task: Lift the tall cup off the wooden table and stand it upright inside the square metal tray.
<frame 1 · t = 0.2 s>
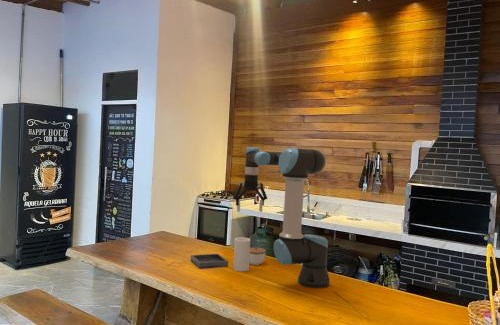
hand: (249, 211, 244), 28 cm above the table, tool pointing down, fingers open, 13 cm apart
square metal tray: (209, 263, 232), on the table
lidded jar: (255, 263, 237), on the table
cup: (241, 269, 225), on the table
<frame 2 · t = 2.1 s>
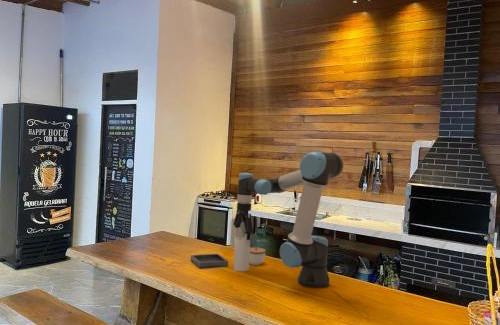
hand: (241, 242, 225), 14 cm above the table, tool pointing down, fingers open, 13 cm apart
nothing on the table moved.
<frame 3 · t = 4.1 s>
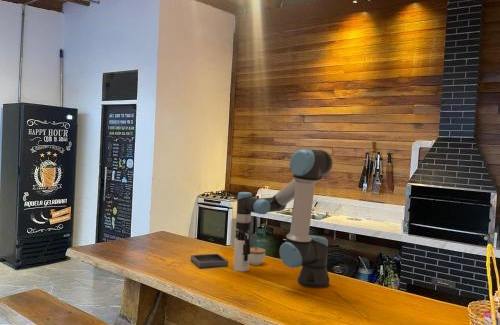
hand: (241, 264, 225), 3 cm above the table, tool pointing down, fingers closed on cup, 8 cm apart
cup: (241, 269, 225), on the table, touching gripper
everything else where it was.
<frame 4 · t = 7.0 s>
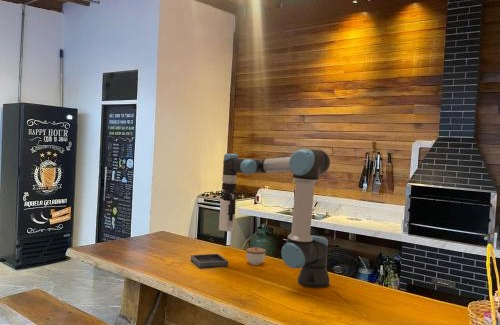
hand: (226, 224, 228), 22 cm above the table, tool pointing down, fingers closed on cup, 8 cm apart
cup: (226, 229, 228), point 20 cm above the table, touching gripper
everything else where it was.
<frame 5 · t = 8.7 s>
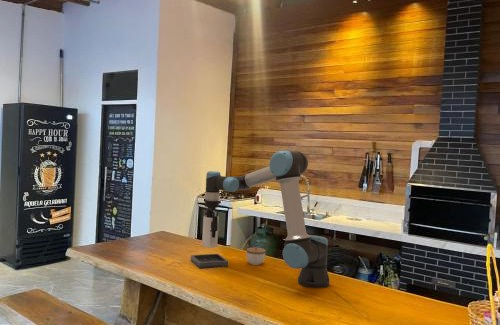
hand: (209, 241, 232), 12 cm above the table, tool pointing down, fingers closed on cup, 8 cm apart
cup: (209, 246, 232), point 10 cm above the table, touching gripper
everything else where it was.
when the fingers open (5 cm above the table, at t = 10.3 s): cup drops 1 cm, resting on square metal tray.
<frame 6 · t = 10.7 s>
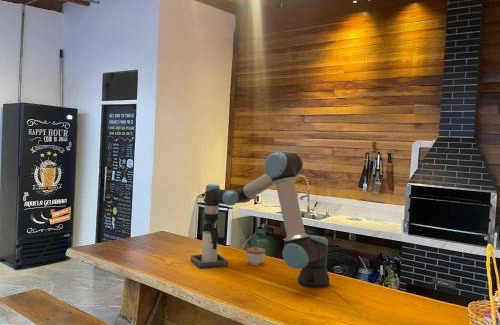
hand: (209, 251, 232), 6 cm above the table, tool pointing down, fingers open, 13 cm apart
cup: (209, 262, 232), point 1 cm above the table, touching square metal tray
everything else where it was.
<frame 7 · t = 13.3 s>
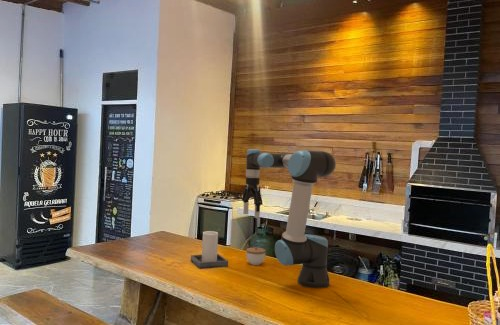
hand: (251, 215, 235), 27 cm above the table, tool pointing down, fingers open, 13 cm apart
nothing on the table moved.
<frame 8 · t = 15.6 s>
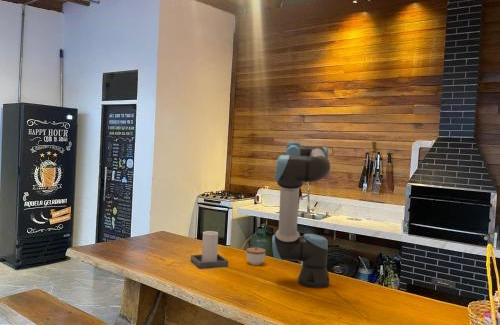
hand: (290, 207, 240), 32 cm above the table, tool pointing down, fingers open, 13 cm apart
nothing on the table moved.
at the end: cup inside the target area on the square metal tray (0.1 cm from its centre), point 0.8 cm above the square metal tray's base; cup tilted 0°; the gripper is holding nothing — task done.
